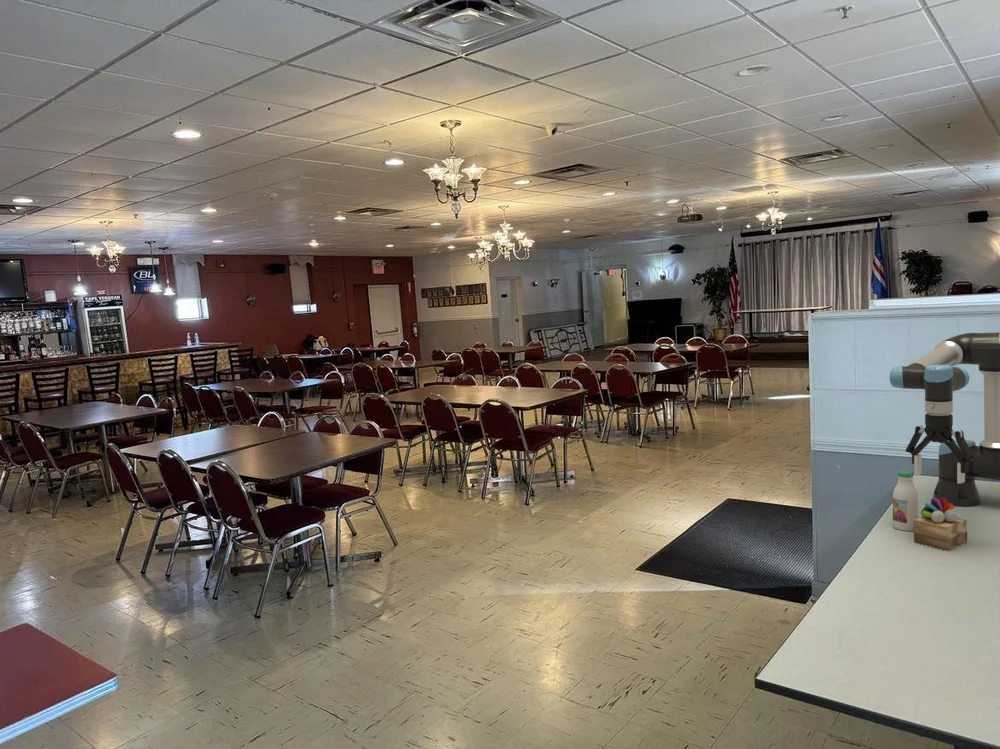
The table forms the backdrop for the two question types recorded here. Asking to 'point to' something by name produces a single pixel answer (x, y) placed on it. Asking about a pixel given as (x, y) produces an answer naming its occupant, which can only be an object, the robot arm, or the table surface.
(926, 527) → the tower top
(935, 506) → the multicoloured petal toy
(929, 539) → the tower base
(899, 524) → the milk bottle
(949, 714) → the table surface
